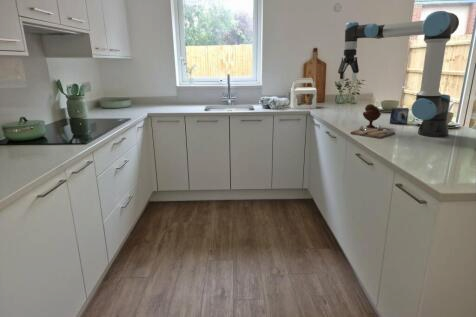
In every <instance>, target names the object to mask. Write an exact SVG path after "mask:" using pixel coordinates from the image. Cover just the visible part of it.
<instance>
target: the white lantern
mask: <svg viewBox="0 0 476 317" xmlns="http://www.w3.org/2000/svg"><path fill="white" fill-rule="evenodd" d="M313 79H314V78H313V77H295V79H294V80H293V81H292V82H291V88H290V102H289V105H290V107H289V108H291V109H292V108H293V109H292V110H304V109H305V110H308V109H309V110H311V109H310V108H314V109H316V108H317V97H318V96H317V93H318V90H317V89H318V88H317V86H316V81H315V80H313ZM297 84H311V86H297V87H296V85H297ZM299 94H300V95H301V94H303V95H309V97H308V103H305V102H299V103H298V98H297V96H298V95H299Z"/></svg>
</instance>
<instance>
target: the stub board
mask: <svg viewBox="0 0 476 317" xmlns="http://www.w3.org/2000/svg"><path fill="white" fill-rule="evenodd" d="M395 133H396V132H395V131H392V130H388V129H386V128H383V129H382V125H377V127H376V128H367V127H364V126H363V125H359V128H358V129H357V130H353V131H350V135H355V136H361V137H362V136H363V137H367V138H373V139H382V138H385V137H388V136H389V137H390V136H392V135H394V134H395Z"/></svg>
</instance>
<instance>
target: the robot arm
mask: <svg viewBox="0 0 476 317" xmlns="http://www.w3.org/2000/svg"><path fill="white" fill-rule="evenodd" d="M428 14H429V13H428ZM459 25H460V18H459V17H458V15H456V14H455V13H453V12H448V11H446V10H445V11H444V10H435V11H433V12H431V13H430V14H429V15H427V16H426V17H425V18H424V20H415V21H406V22H397V23H388V24H377V23H366V24H359V22H357V21H352V22H351V21H350V22H347V23H346V24H345V29H344V44H343V48H344V50H343V57H341V62H340V64H339V67H338V70H337V73H338V74H339V85H345V76H346V75H345V72H346V70H347V68H348V66H350V68H351V71H352V73H351V84H357V82H356V81H357V74H358V73H359V71H360V68H359V64H358V57H357V48H358V39H378V40H379V39H380V40H381V39H384V38H398V37H399V38H401V37H413V36H414V37H415V36H424V37H423V41H424V43H425V44H426V45H425V46H426V47H425V54H424V59H423V60H424V62H423V70H422V76H421V83H420V89H419V90H420V91H418V92H417V93H416V97H415V101H414V102H413V103H412V105H411V113H412V115H413V117H415V118H416V119H418V120H419V121H420V120H421V122H420V123H421V124H420V126H419V127H418V131H417V134H418V135H421V136H424V137H432V138H433V137H434V138H435V137H436V138H441V137H442V138H443V137H448V136H449V128H448V123H447V121H448V115H449V109H450V103H451V95H449V94H442V93H441V91H440V85H441V80H442V73H443V67H444V59H445V54H446V46H447V42H449V41H451V37H452V35H453V34H454V33H455V32H456V31H457V29H458V28H459Z"/></svg>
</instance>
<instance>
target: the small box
mask: <svg viewBox="0 0 476 317" xmlns="http://www.w3.org/2000/svg"><path fill="white" fill-rule="evenodd" d="M409 112H410V110H409V108H408V107H391V109H390V117H389V124H390V125H402V124H407V125H408V119H409Z"/></svg>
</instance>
